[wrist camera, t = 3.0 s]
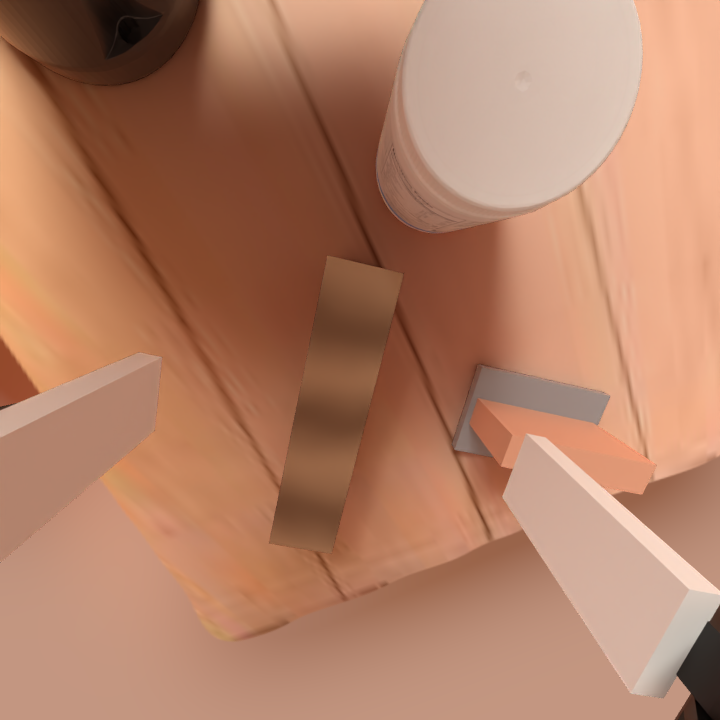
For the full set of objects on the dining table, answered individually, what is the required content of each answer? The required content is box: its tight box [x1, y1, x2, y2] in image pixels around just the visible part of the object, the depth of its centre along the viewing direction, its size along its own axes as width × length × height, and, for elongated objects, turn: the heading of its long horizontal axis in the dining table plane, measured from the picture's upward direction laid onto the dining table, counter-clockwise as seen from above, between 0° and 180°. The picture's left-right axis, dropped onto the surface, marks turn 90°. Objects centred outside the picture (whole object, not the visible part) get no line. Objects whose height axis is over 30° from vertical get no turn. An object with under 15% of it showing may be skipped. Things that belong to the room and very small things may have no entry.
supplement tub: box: [376, 0, 643, 233], centre depth 21 cm, size 10×10×15 cm
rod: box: [269, 255, 404, 554], centre depth 25 cm, size 20×4×4 cm, turn 167°
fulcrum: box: [452, 364, 657, 494], centre depth 30 cm, size 12×8×8 cm, turn 77°
